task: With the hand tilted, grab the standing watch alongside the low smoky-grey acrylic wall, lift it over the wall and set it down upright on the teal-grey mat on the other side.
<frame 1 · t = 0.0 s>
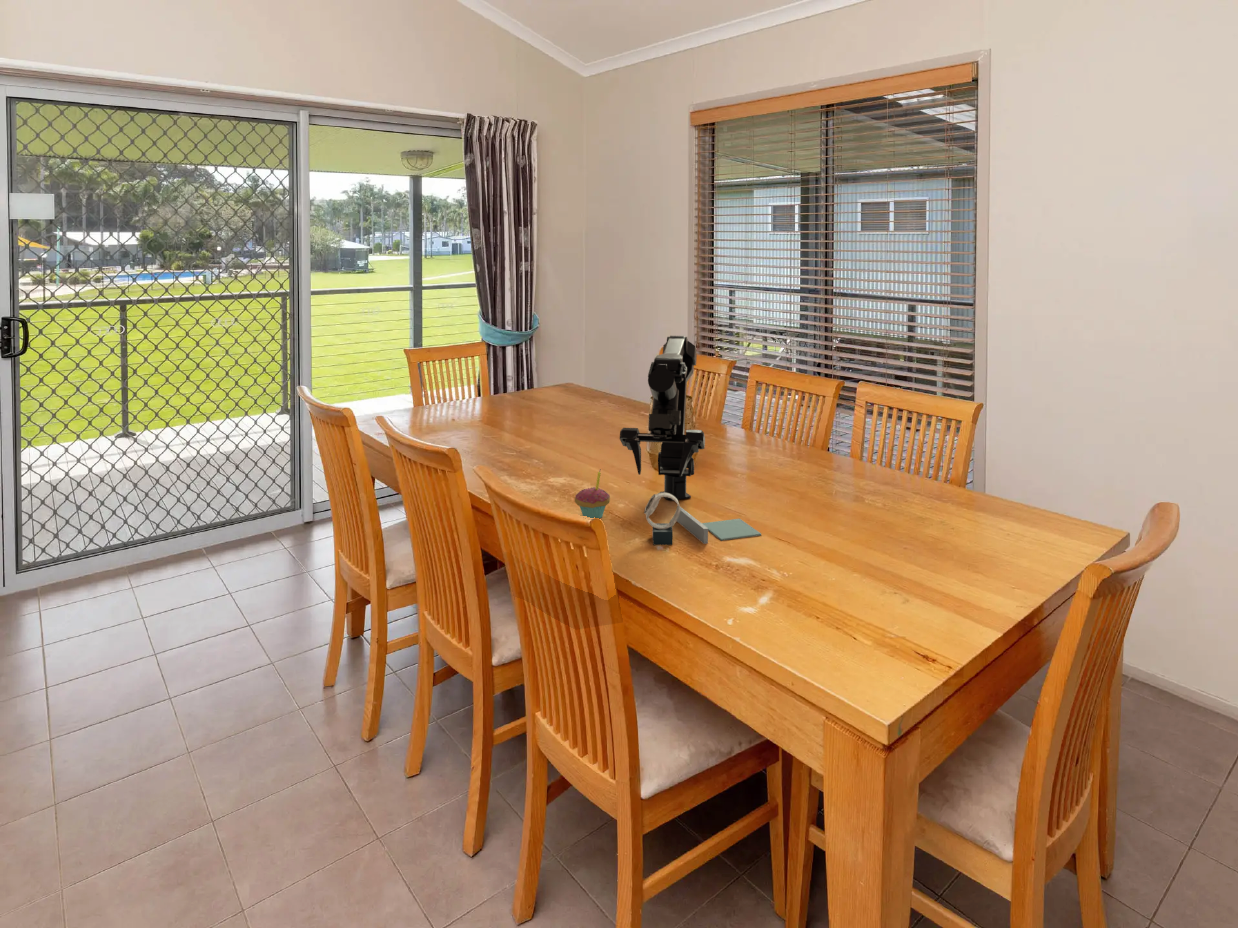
hand: (659, 475, 183), 15 cm above the table, tool tilted 35°, fingers open, 9 cm apart
cupcake: (592, 517, 202), on the table
watch: (661, 541, 186), on the table
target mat: (730, 529, 192), on the table
acrylic wall: (691, 531, 191), on the table
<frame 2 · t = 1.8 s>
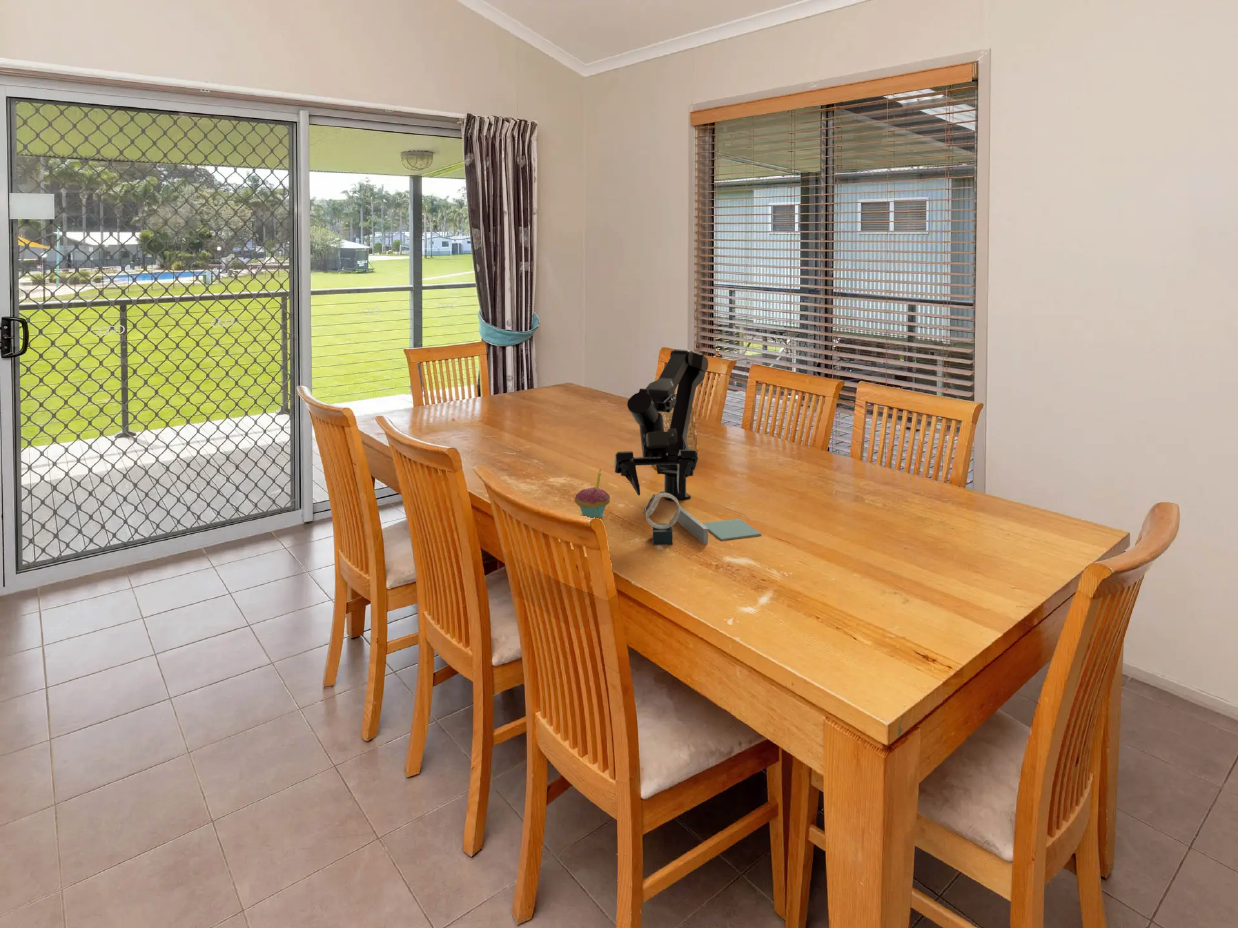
hand: (659, 493, 186), 10 cm above the table, tool tilted 45°, fingers open, 9 cm apart
nothing on the table moved.
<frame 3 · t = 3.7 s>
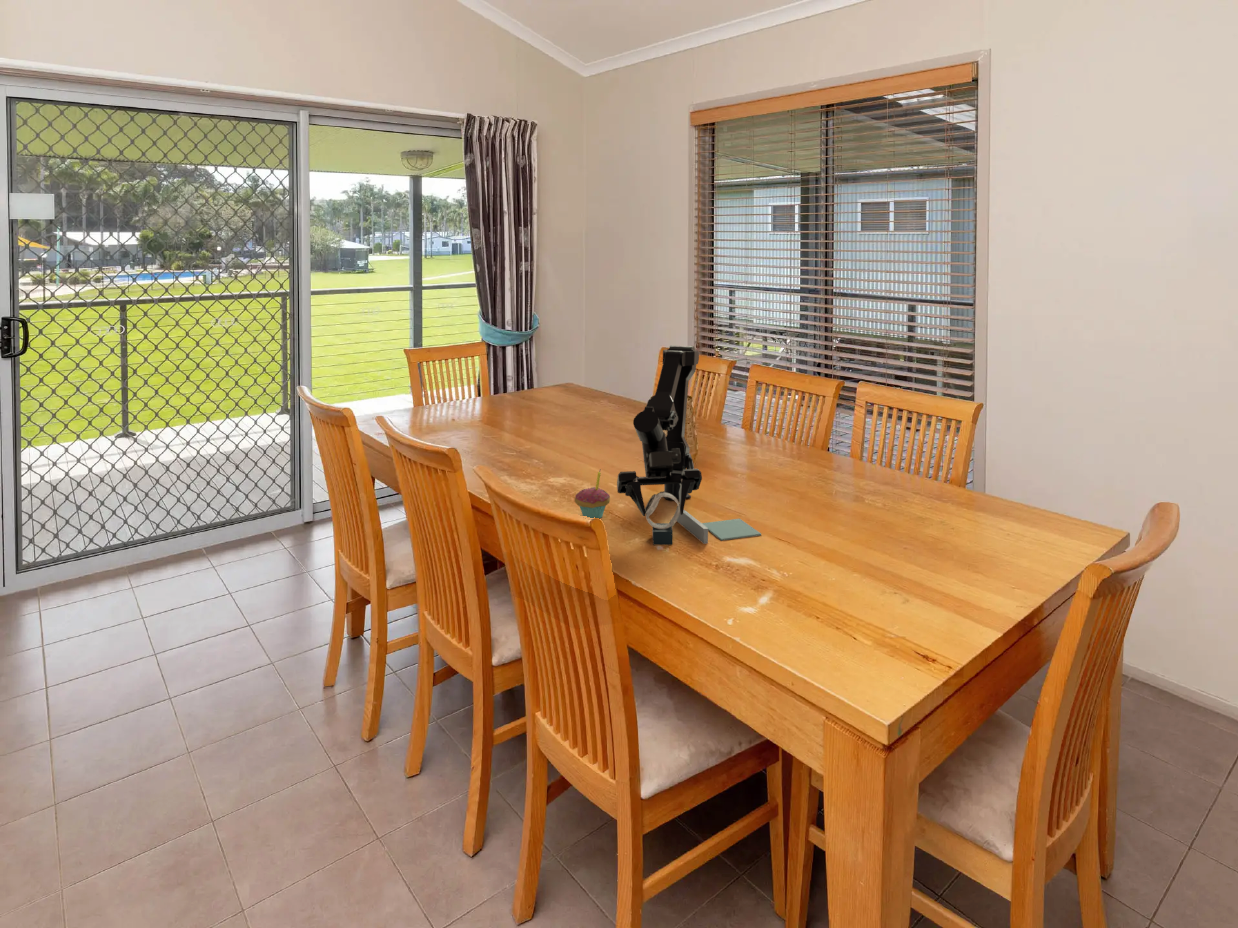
hand: (663, 514, 183), 7 cm above the table, tool tilted 45°, fingers closed on watch, 8 cm apart
watch: (661, 541, 186), on the table, touching gripper
everything else where it was.
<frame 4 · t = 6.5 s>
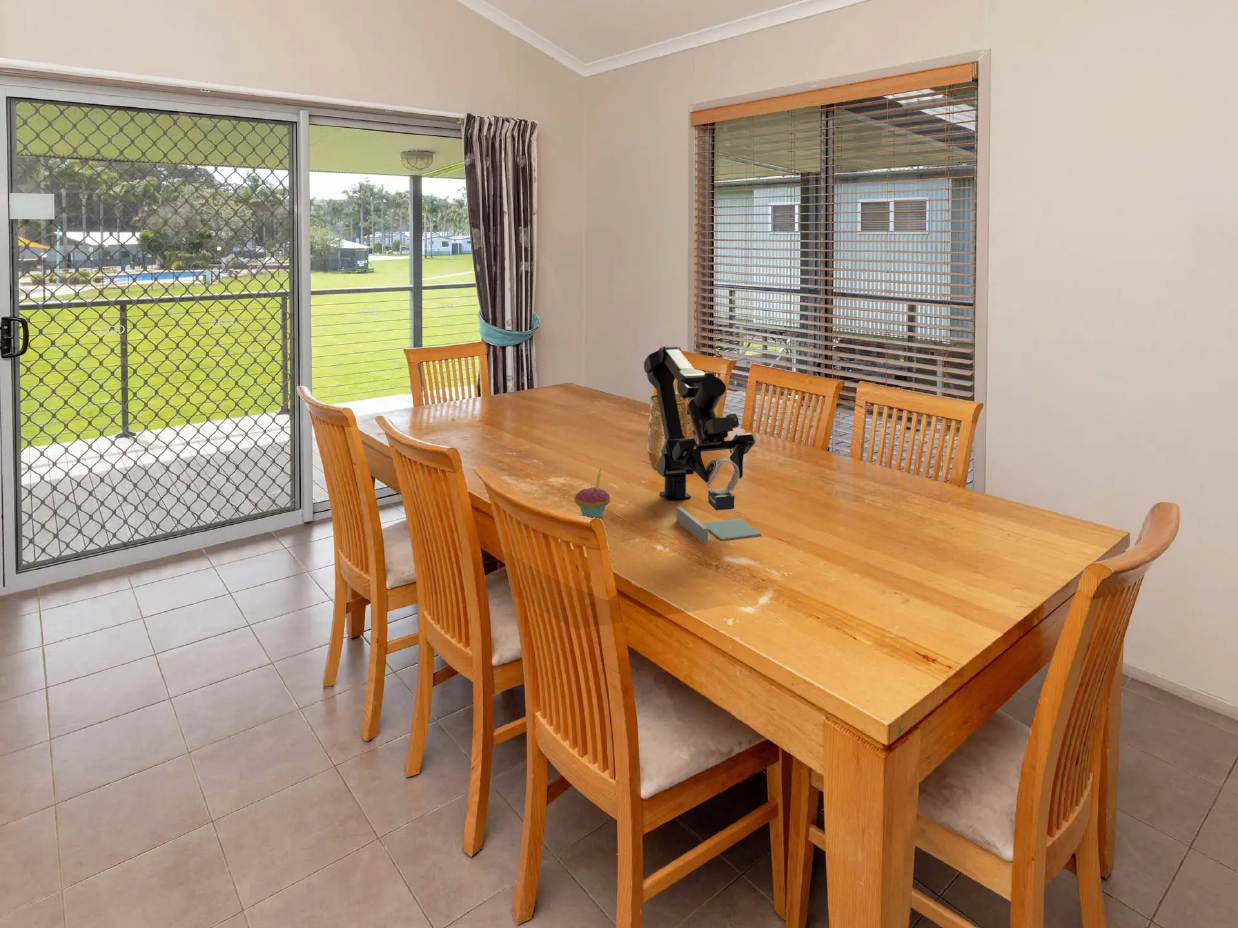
hand: (724, 479, 186), 13 cm above the table, tool tilted 45°, fingers closed on watch, 8 cm apart
watch: (720, 506, 189), point 6 cm above the table, touching gripper
everything else where it was.
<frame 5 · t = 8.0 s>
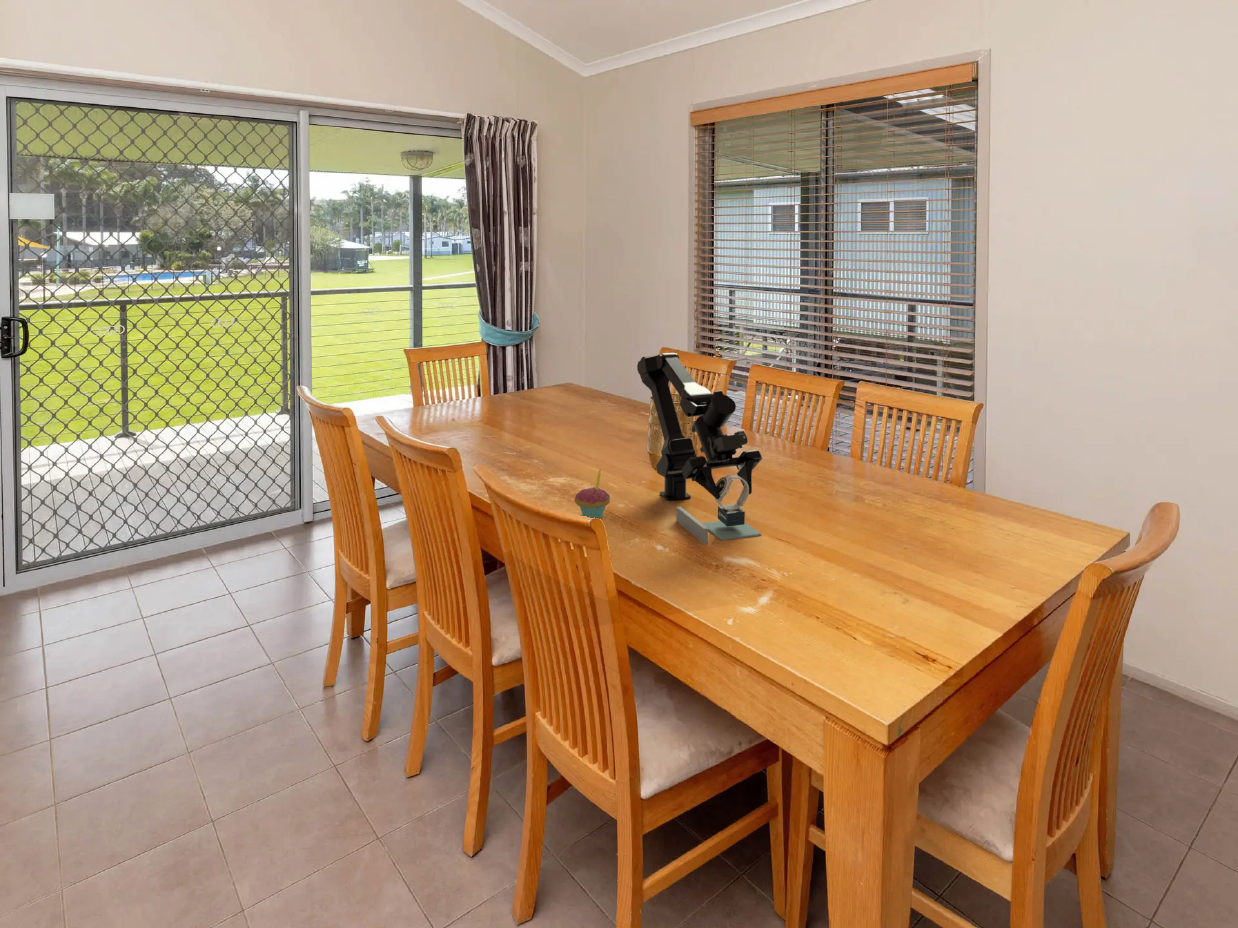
hand: (734, 496, 189), 9 cm above the table, tool tilted 45°, fingers closed on watch, 8 cm apart
watch: (730, 522, 192), point 2 cm above the table, touching gripper
everything else where it was.
when the fingers open (8 cm above the table, at t = 9.2 s): watch moves 1 cm, resting on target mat.
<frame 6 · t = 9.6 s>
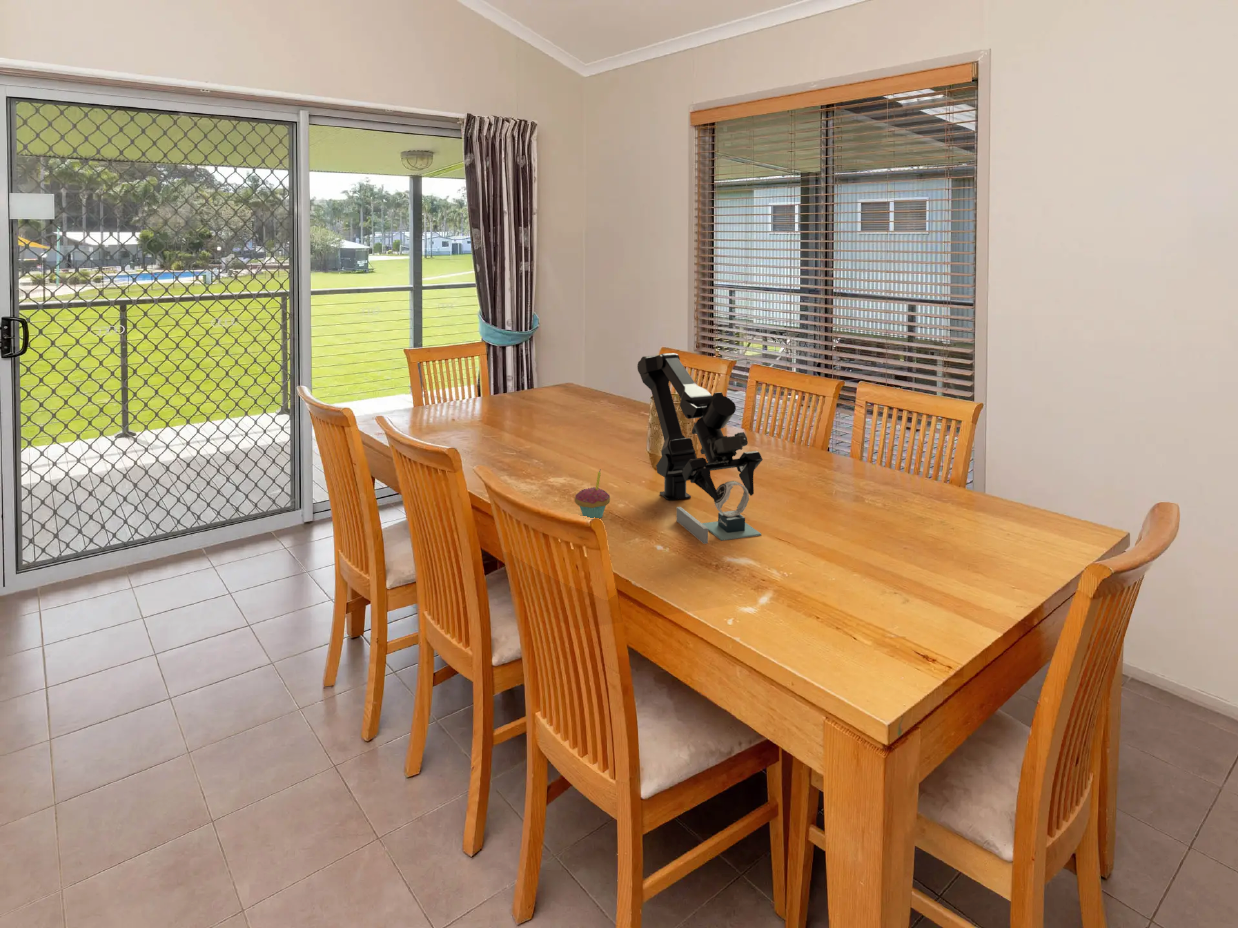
hand: (734, 497, 189), 8 cm above the table, tool tilted 45°, fingers open, 9 cm apart
watch: (730, 528, 192), resting on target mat
everything else where it was.
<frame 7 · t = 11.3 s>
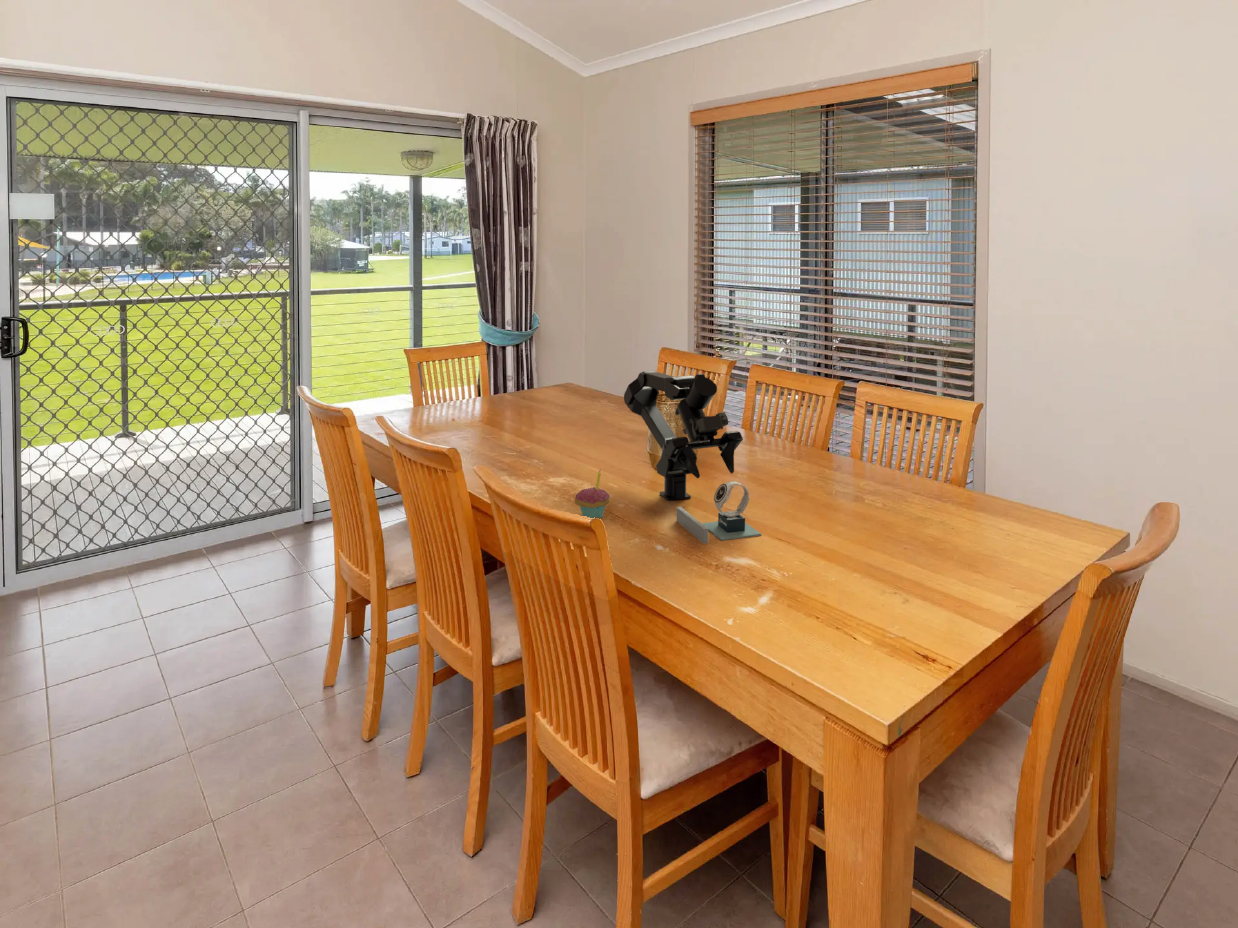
hand: (715, 475, 196), 11 cm above the table, tool tilted 45°, fingers open, 9 cm apart
nothing on the table moved.
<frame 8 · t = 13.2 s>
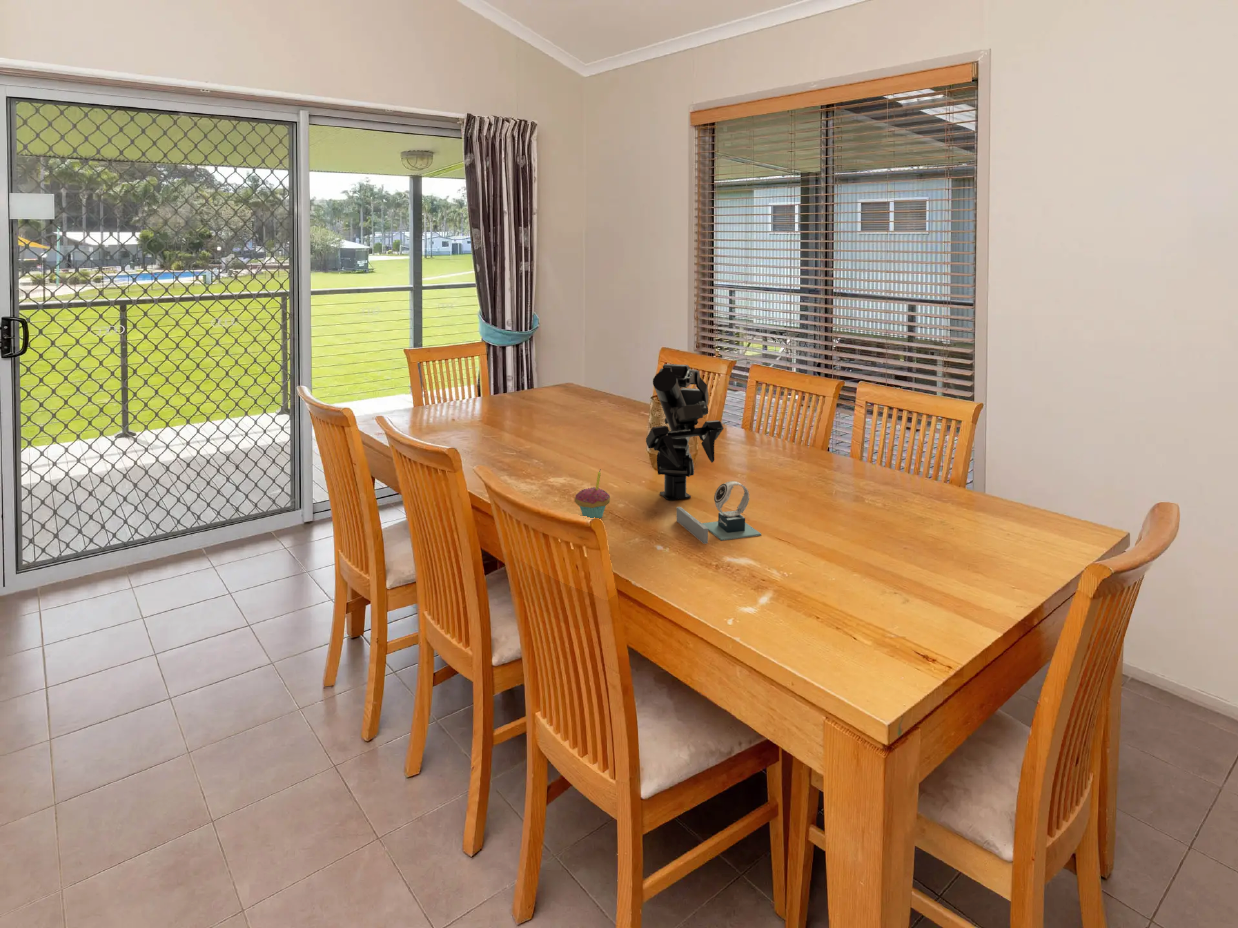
hand: (696, 463, 197), 14 cm above the table, tool tilted 45°, fingers open, 9 cm apart
nothing on the table moved.
at the end: watch inside the target area on the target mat (0.2 cm from its centre), point 0.2 cm above the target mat's base; watch tilted 0°; the gripper is holding nothing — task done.
